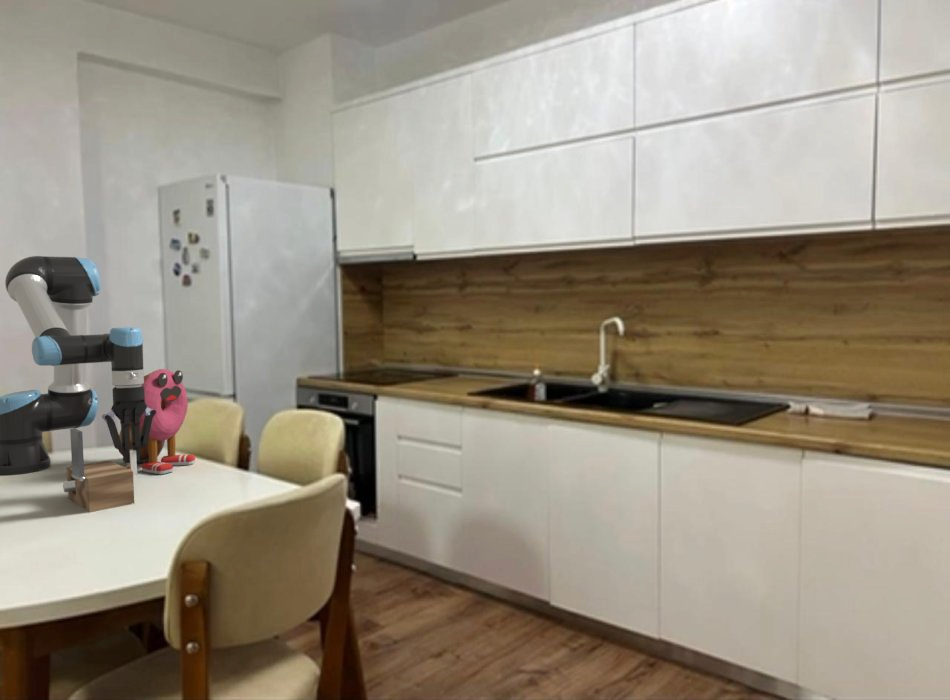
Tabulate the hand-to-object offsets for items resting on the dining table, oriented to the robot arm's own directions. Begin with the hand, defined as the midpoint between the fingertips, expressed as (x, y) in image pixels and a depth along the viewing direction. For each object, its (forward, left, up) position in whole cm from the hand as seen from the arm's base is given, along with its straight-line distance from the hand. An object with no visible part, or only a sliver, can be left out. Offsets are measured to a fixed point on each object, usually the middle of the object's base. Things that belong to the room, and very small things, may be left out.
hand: (132, 474), depth 180 cm
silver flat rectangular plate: (+9, -15, +4) cm, 18 cm away
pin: (0, -8, -3) cm, 9 cm away
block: (+4, -9, -4) cm, 11 cm away
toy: (-19, +16, -5) cm, 25 cm away
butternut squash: (-33, +14, -5) cm, 36 cm away
